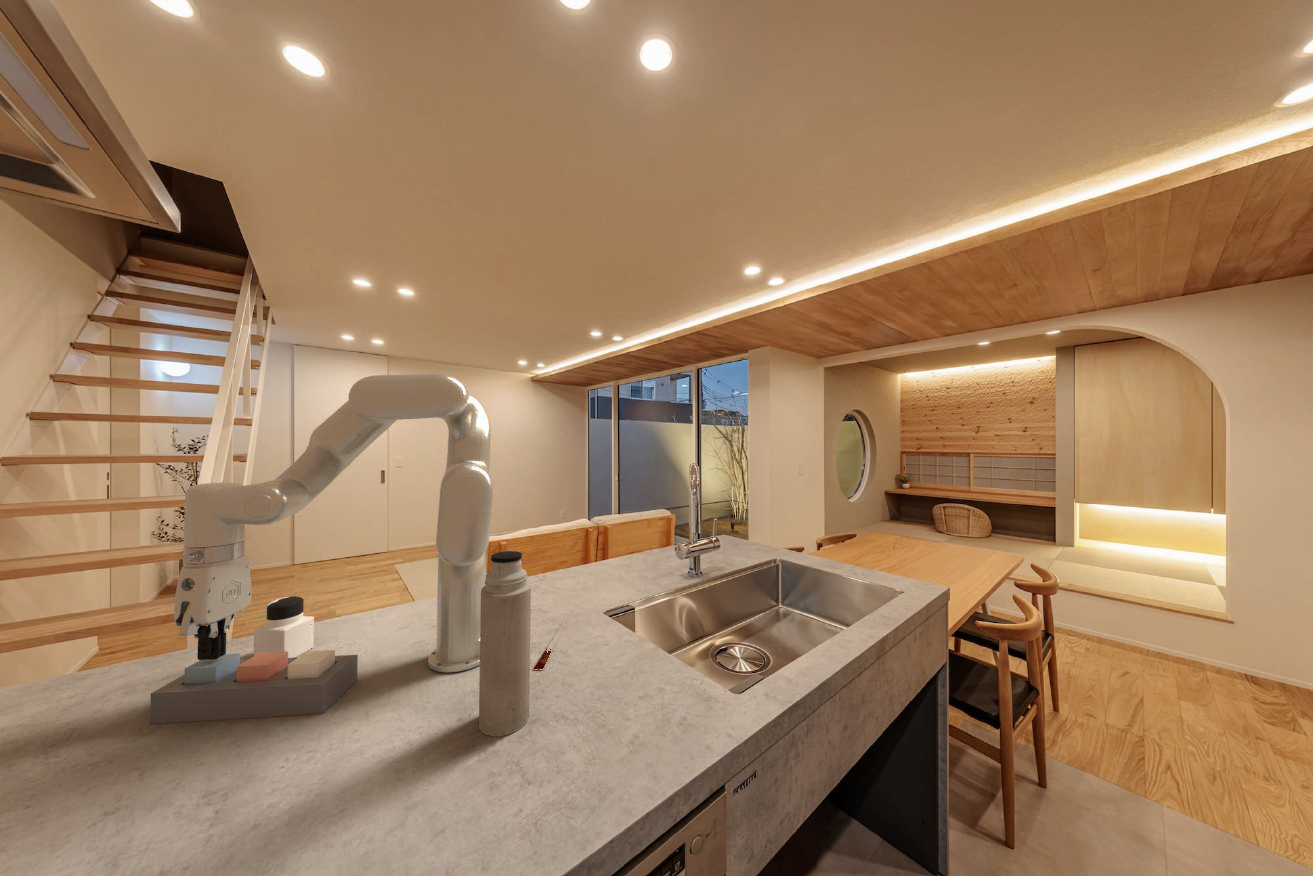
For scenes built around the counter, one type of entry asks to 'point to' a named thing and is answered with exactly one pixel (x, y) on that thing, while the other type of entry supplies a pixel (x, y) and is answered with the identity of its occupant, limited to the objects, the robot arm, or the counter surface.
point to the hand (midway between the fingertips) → (211, 657)
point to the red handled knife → (542, 660)
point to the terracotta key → (262, 666)
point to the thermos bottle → (504, 646)
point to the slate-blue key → (211, 669)
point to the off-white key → (311, 664)
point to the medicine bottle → (285, 628)
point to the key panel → (253, 695)
